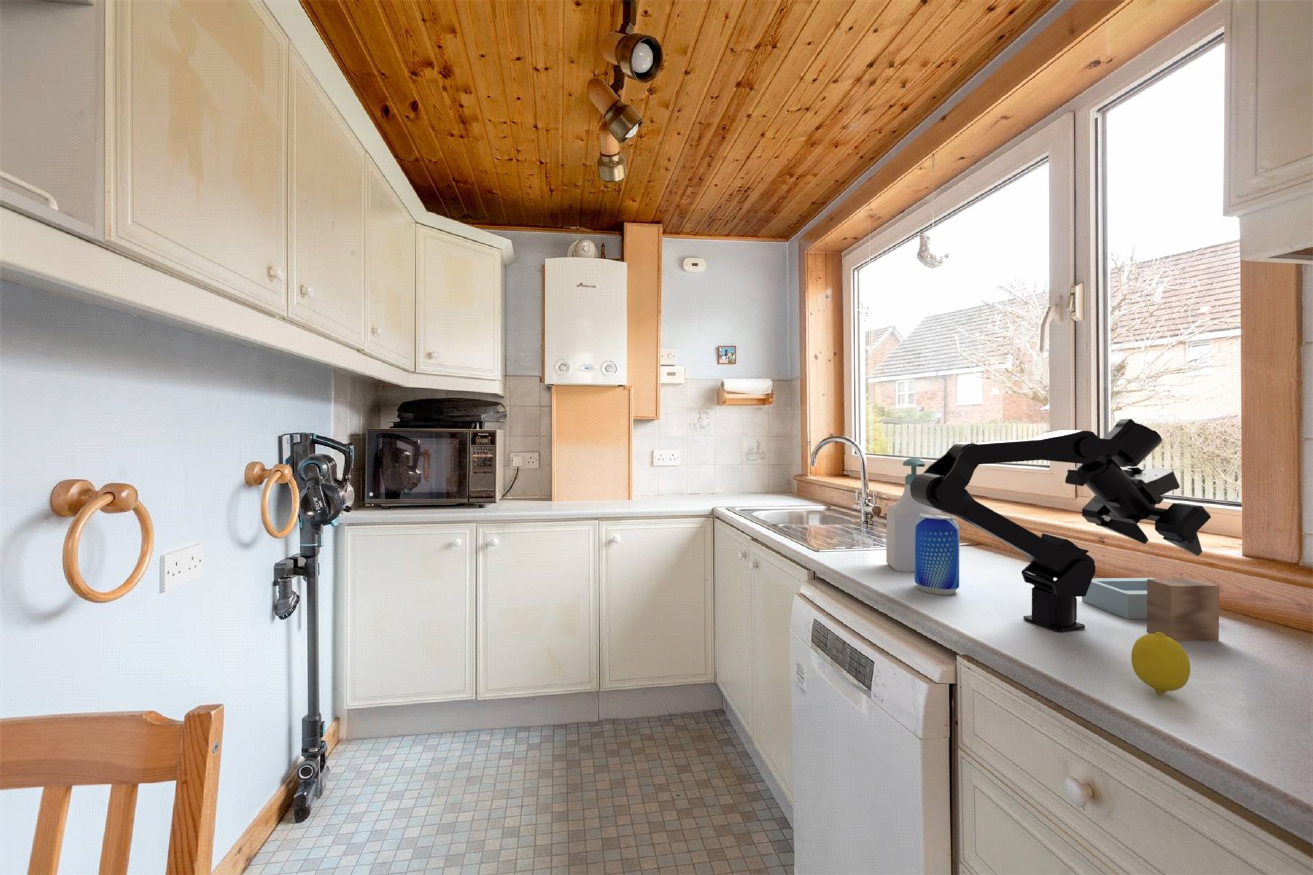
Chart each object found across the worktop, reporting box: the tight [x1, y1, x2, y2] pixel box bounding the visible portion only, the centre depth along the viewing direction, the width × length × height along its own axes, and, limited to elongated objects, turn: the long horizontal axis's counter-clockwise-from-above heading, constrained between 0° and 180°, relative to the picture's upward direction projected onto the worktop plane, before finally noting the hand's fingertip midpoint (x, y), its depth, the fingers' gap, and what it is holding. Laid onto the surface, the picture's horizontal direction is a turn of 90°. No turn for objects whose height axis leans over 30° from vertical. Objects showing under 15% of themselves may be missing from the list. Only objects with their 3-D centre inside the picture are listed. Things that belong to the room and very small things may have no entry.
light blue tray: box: [1081, 577, 1156, 620], centre depth 100 cm, size 14×10×4 cm
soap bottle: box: [885, 457, 942, 573], centre depth 129 cm, size 11×8×27 cm
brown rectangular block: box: [1146, 578, 1220, 642], centre depth 87 cm, size 8×4×9 cm, turn 91°
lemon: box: [1130, 632, 1191, 694], centre depth 68 cm, size 6×6×8 cm
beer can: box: [914, 513, 960, 596], centre depth 112 cm, size 8×8×16 cm
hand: (1171, 547), depth 92 cm, fingers open, 9 cm apart
